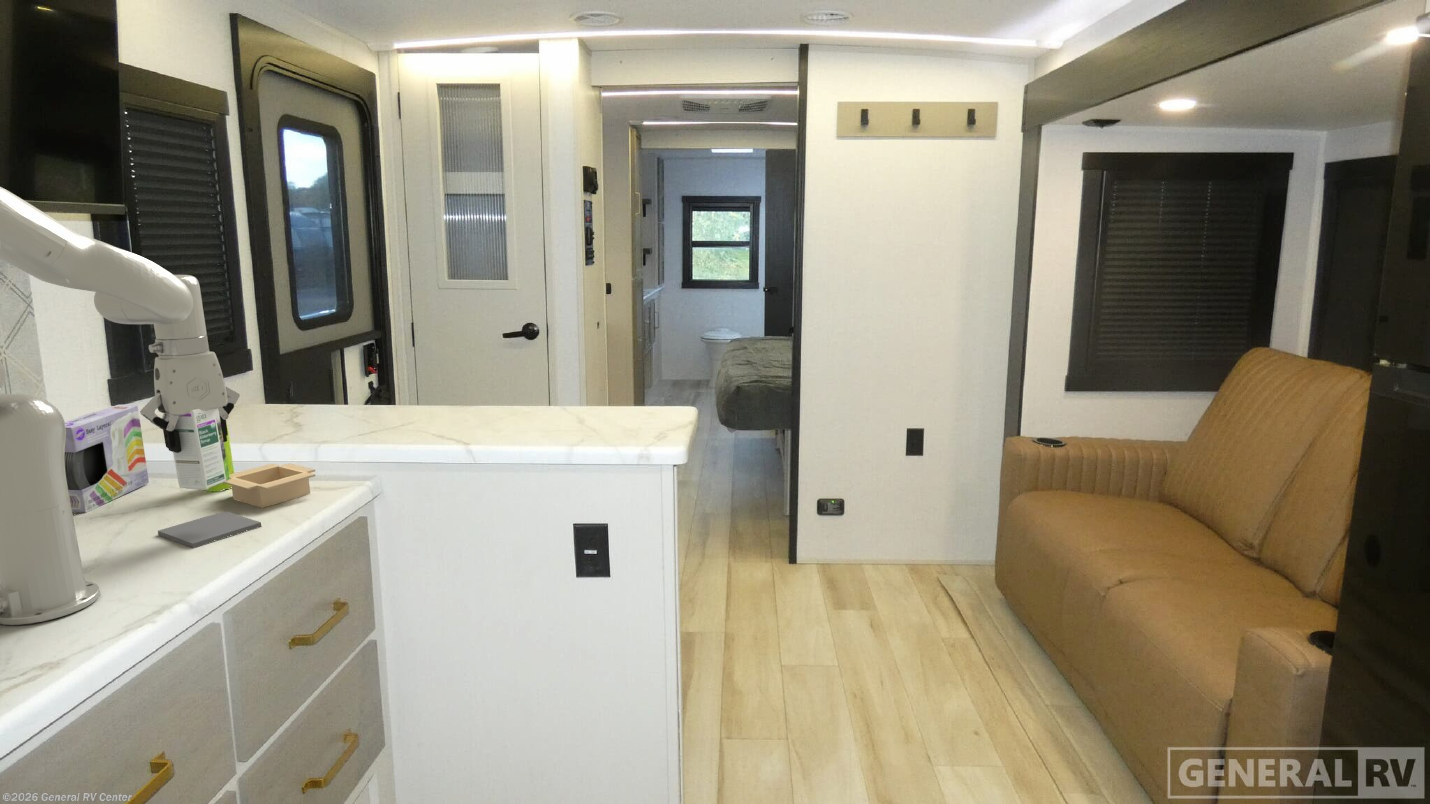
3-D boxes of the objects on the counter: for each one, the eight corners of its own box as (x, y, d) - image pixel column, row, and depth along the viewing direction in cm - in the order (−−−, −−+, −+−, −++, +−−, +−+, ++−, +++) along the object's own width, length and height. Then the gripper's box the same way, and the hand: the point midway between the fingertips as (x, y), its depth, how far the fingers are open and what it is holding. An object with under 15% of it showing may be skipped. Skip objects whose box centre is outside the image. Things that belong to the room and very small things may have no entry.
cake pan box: (83, 515, 163) (67, 426, 160) (58, 515, 164) (41, 426, 160) (152, 484, 182) (139, 403, 178) (130, 484, 182) (116, 403, 179)
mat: (193, 547, 146) (192, 543, 146) (158, 534, 153) (157, 530, 152) (261, 526, 156) (260, 522, 156) (225, 515, 162) (225, 511, 162)
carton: (259, 513, 163) (256, 490, 162) (216, 500, 171) (213, 478, 170) (326, 492, 175) (324, 471, 174) (283, 481, 183) (281, 461, 182)
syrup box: (206, 490, 149) (194, 409, 146) (177, 488, 151) (164, 408, 147) (230, 480, 155) (219, 402, 152) (202, 478, 156) (190, 401, 153)
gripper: (139, 356, 138) (156, 461, 142) (245, 341, 152) (258, 437, 156) (117, 352, 142) (134, 455, 146) (222, 339, 156) (235, 432, 160)
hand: (198, 445), depth 151 cm, fingers closed on syrup box, 7 cm apart
